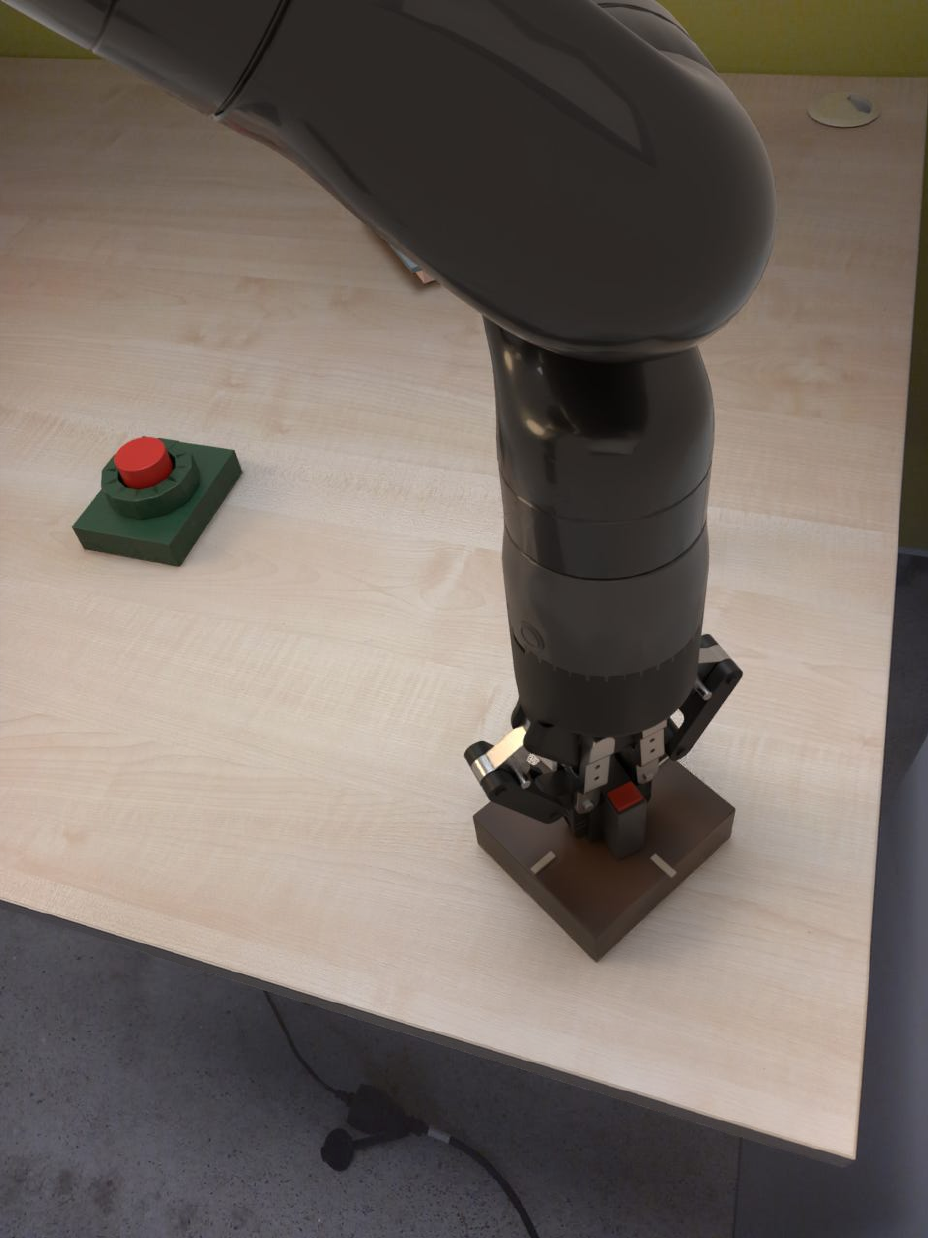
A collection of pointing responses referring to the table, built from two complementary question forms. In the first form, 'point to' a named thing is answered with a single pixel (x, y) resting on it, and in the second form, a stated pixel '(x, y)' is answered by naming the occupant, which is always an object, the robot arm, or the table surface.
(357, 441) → the table surface
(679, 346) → the robot arm
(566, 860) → the panel
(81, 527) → the button box
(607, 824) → the knob
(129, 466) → the button
